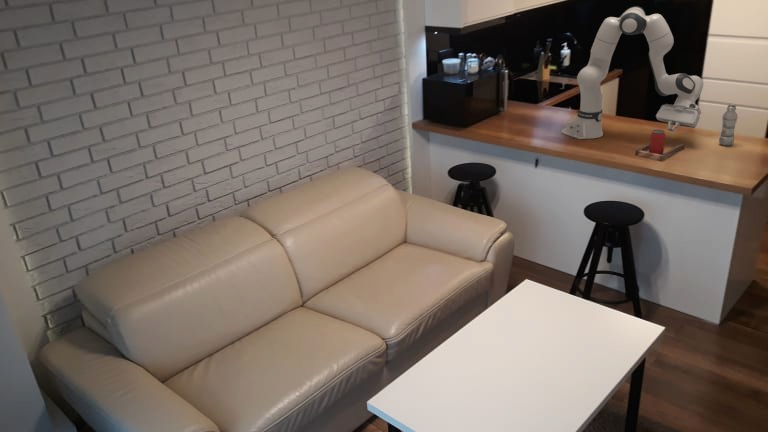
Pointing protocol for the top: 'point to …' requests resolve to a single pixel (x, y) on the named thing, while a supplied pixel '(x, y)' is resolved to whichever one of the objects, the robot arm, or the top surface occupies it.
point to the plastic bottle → (728, 126)
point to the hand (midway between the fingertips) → (670, 130)
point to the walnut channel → (658, 157)
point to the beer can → (657, 142)
